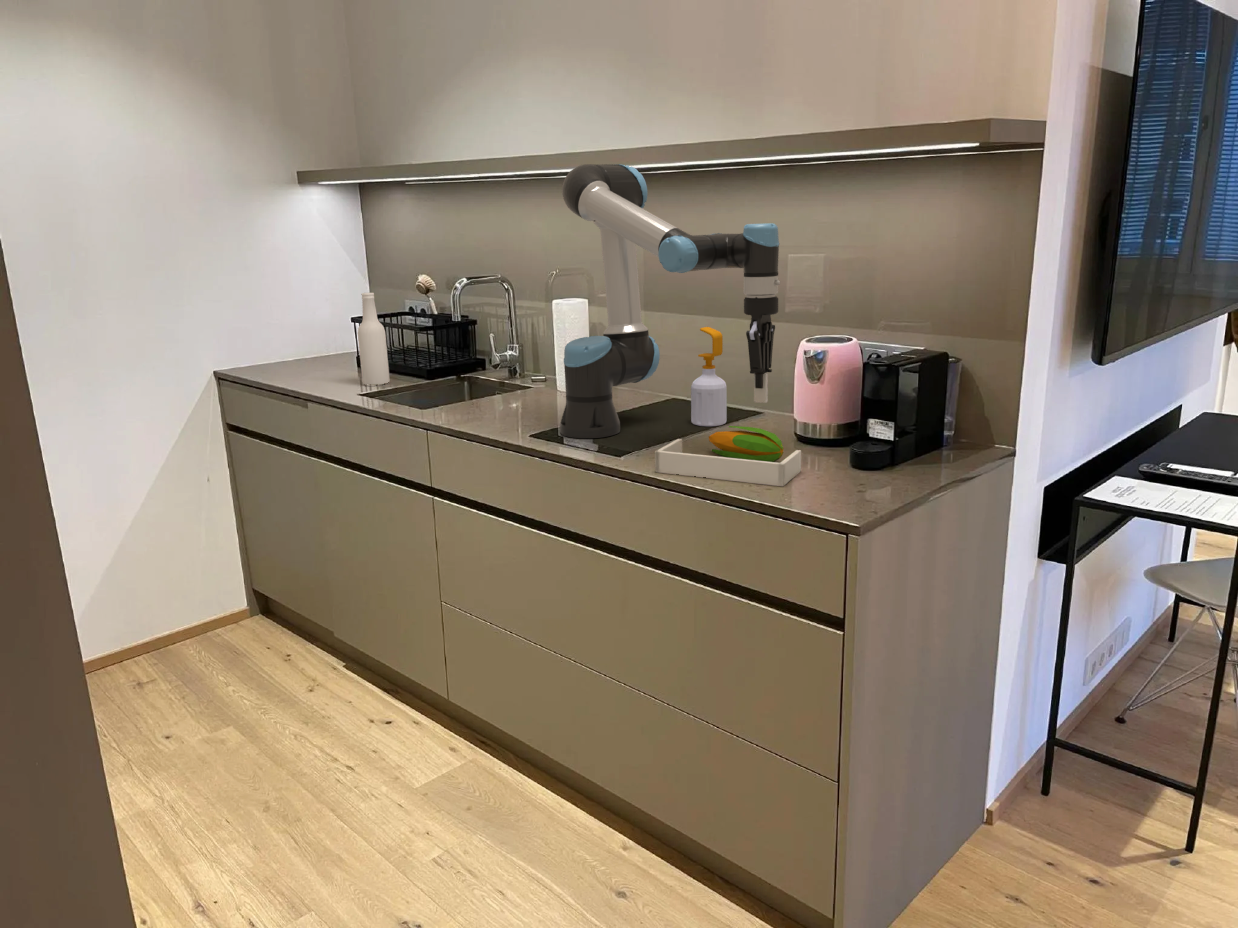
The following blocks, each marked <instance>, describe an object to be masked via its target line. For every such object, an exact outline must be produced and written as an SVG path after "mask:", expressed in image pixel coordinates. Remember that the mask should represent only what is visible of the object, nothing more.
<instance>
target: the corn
mask: <svg viewBox="0 0 1238 928" xmlns="http://www.w3.org/2000/svg"><path fill="white" fill-rule="evenodd" d="M728 428H734V429H735V428H736V429H740V430H731V431H730V430H729V431H728V430H727V431H725V430H724V431H715V432H714V433H712V434H710V435H709V436H708V440H709V442H710V443H711V444H712V445H714V446H715V447H716V448H717V449H716V448H713V449H711V452H713V454H716V455H719V457H727V458H737V459H746V460H756V461H766V462H777V461H778V460H780V459H781V458H782V456H783V455H784V446H783V443H782V442H783V441H782V439H780V438H779V437H778V436H777V434H775V433H773V432H771V431H768V430H765V429H763V428H759V427H753V426H752V427H751V426H739V425H729V426H728Z"/></svg>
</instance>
